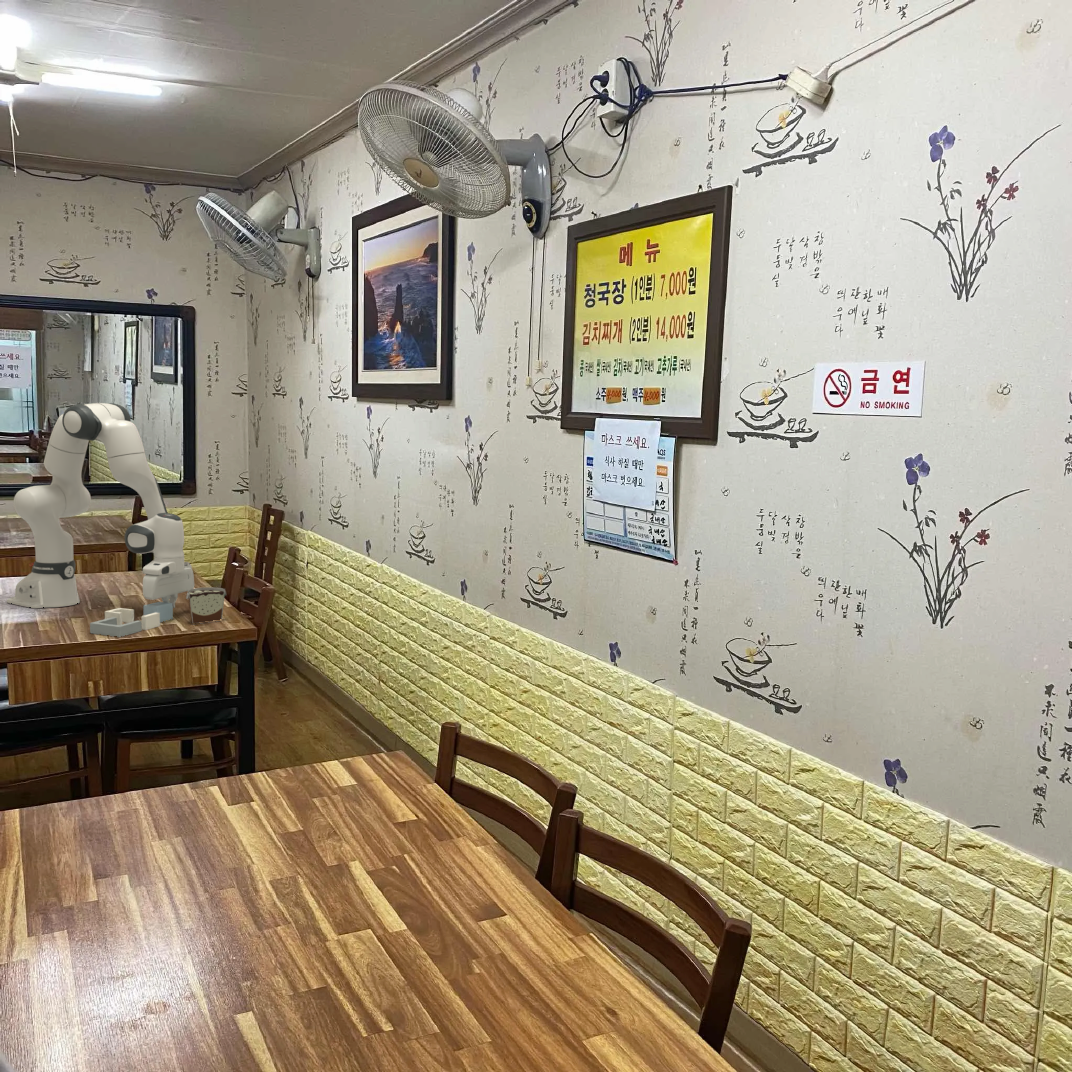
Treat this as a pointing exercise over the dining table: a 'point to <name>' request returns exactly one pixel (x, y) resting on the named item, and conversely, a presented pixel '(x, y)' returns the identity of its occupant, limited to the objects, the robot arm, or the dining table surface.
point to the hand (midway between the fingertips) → (169, 608)
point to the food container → (206, 604)
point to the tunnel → (128, 616)
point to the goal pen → (115, 627)
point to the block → (160, 610)
